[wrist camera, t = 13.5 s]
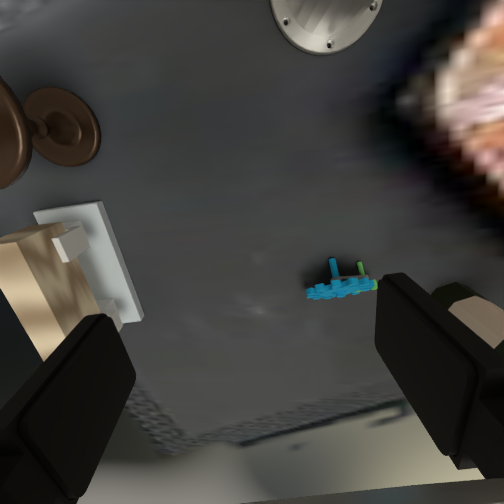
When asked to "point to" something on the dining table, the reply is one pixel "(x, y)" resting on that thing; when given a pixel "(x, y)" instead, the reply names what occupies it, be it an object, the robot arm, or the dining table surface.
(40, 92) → the candlestick
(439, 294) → the wine bottle
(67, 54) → the dining table surface
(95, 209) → the cradle
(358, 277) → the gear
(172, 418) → the dining table surface
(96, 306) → the rail
